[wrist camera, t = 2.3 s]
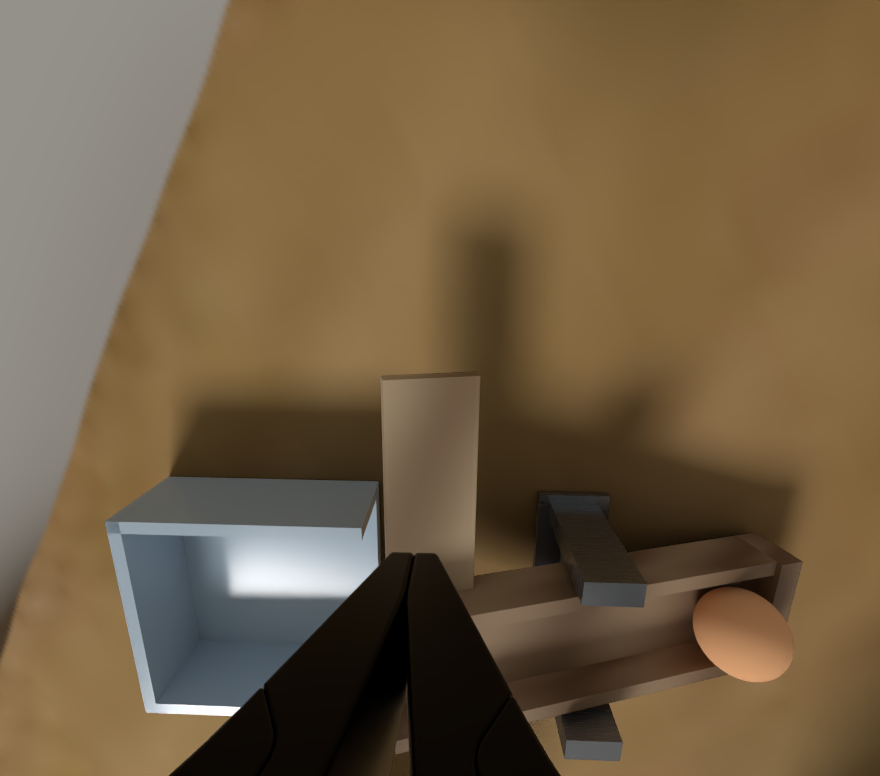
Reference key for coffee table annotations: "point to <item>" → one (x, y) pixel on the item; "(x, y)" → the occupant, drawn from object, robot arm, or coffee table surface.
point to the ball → (743, 634)
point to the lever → (551, 570)
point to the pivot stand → (588, 596)
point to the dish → (235, 579)
